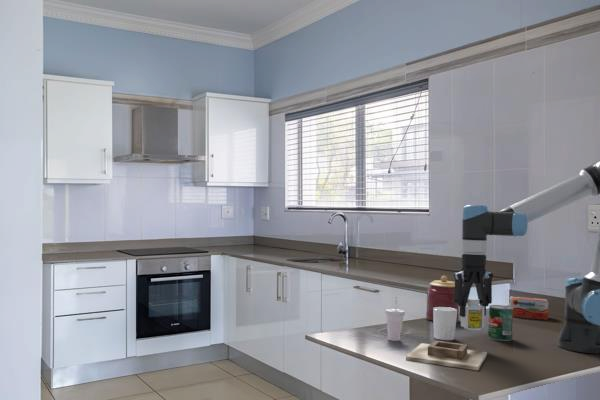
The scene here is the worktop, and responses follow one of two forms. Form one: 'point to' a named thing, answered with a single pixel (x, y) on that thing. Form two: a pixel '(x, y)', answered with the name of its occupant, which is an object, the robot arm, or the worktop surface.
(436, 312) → the white cup
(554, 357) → the worktop surface
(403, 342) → the worktop surface
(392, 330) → the smoothie
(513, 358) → the worktop surface
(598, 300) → the robot arm
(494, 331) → the canned tomato
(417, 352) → the socket board
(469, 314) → the supplement bottle
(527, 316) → the medicine box
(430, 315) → the canister
